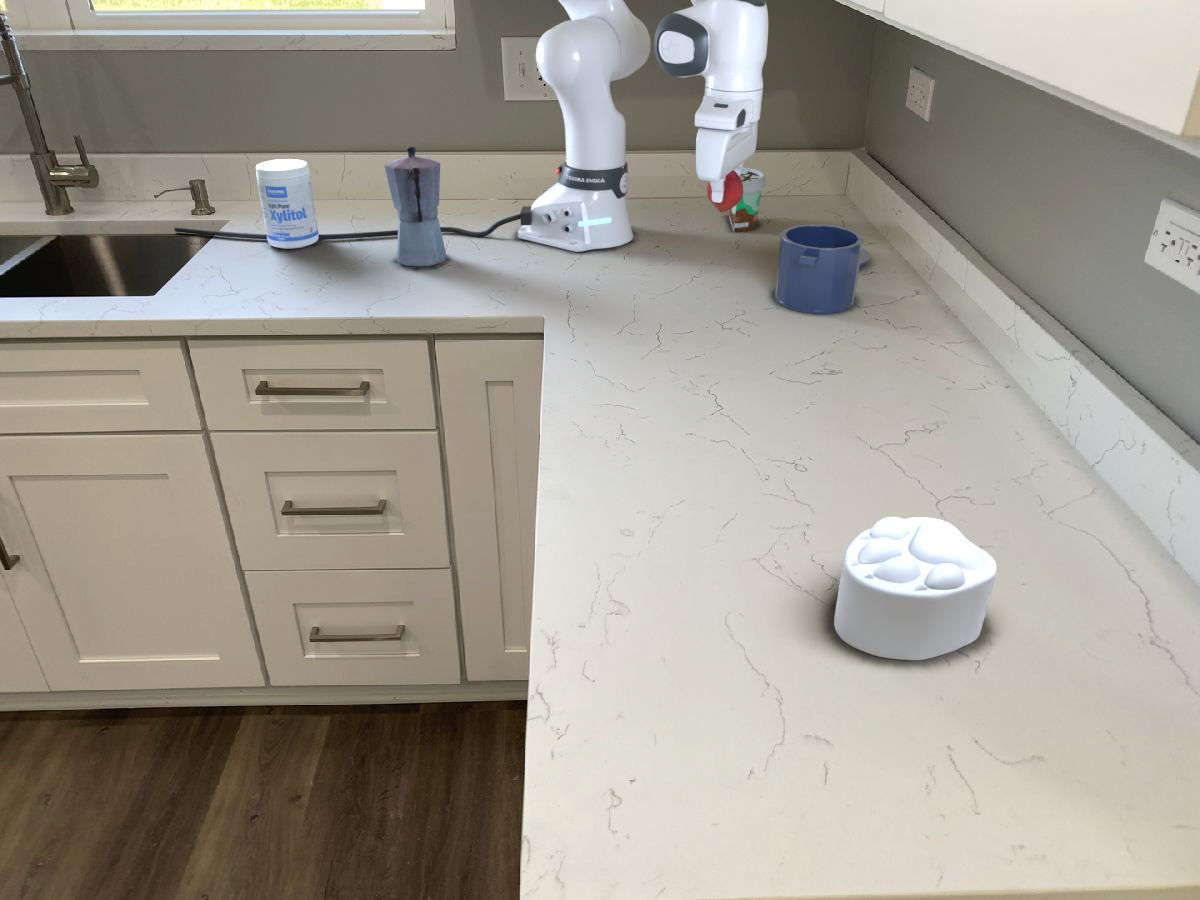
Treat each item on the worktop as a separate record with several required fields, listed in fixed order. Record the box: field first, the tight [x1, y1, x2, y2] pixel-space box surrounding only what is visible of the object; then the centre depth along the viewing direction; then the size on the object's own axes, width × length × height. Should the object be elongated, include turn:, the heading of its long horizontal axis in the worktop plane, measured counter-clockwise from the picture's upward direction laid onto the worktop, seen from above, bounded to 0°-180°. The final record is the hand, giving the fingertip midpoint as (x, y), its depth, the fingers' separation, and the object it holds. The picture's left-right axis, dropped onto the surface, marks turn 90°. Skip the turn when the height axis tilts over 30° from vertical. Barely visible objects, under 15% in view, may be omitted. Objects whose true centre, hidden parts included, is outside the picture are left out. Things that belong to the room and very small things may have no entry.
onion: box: [706, 170, 743, 214], centre depth 149 cm, size 6×6×8 cm
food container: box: [728, 166, 767, 232], centre depth 183 cm, size 12×6×10 cm, turn 179°
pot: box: [774, 223, 864, 315], centre depth 149 cm, size 13×18×10 cm
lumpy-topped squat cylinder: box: [833, 516, 998, 661], centre depth 82 cm, size 10×13×9 cm
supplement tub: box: [255, 158, 320, 250], centre depth 174 cm, size 10×10×15 cm
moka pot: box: [384, 146, 447, 267], centre depth 163 cm, size 10×15×20 cm, turn 18°
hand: (724, 195), depth 150 cm, fingers closed on onion, 6 cm apart
